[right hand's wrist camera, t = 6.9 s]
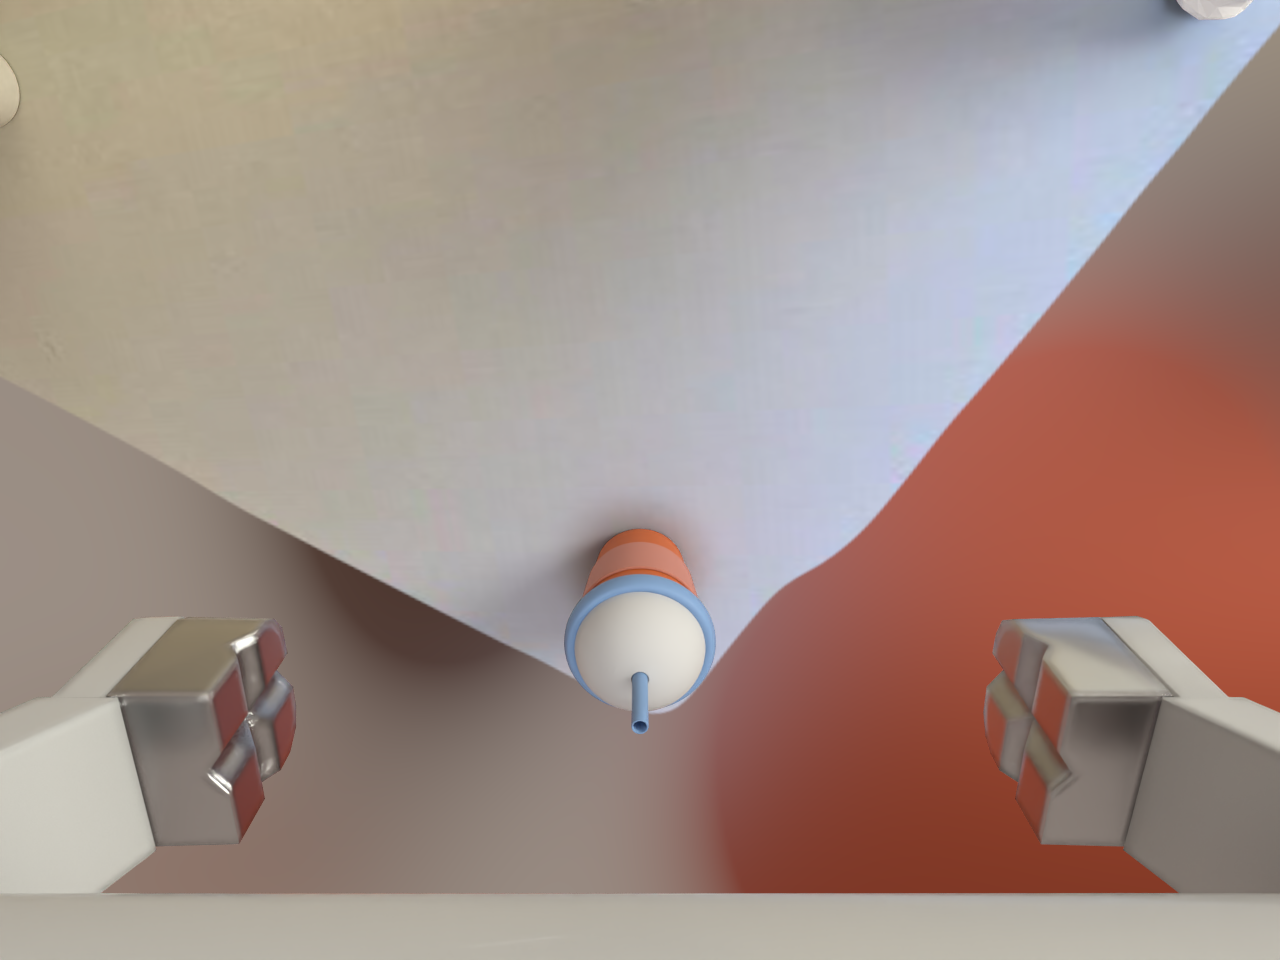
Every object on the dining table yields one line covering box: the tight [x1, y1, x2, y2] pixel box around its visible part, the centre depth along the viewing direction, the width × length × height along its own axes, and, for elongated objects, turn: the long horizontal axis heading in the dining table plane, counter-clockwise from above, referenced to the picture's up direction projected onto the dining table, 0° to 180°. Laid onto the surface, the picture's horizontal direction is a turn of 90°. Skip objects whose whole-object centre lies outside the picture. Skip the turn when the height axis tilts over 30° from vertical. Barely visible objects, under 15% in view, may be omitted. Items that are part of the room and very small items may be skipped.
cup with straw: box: [564, 529, 716, 734], centre depth 55 cm, size 9×9×18 cm
